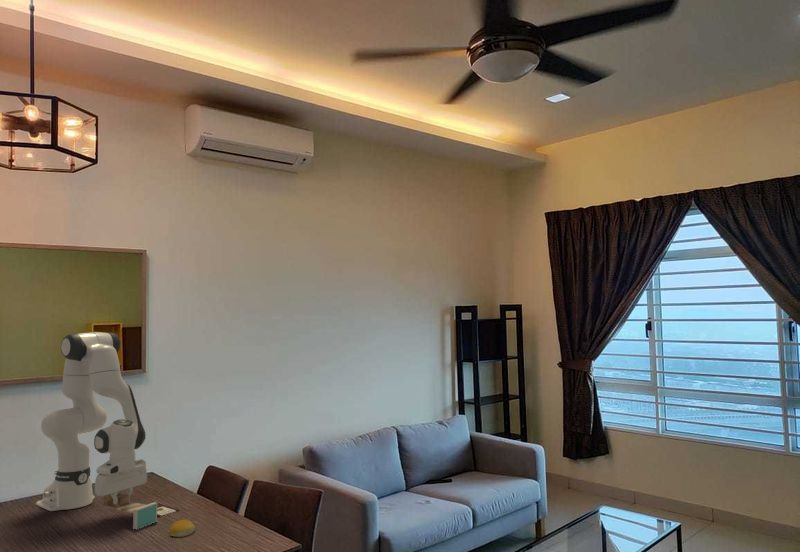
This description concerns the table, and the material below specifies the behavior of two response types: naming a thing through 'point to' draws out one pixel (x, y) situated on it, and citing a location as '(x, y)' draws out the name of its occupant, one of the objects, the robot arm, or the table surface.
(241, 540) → the table surface
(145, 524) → the tile
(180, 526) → the bread roll
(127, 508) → the brown flat knobbed piece
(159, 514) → the chocolate bar
